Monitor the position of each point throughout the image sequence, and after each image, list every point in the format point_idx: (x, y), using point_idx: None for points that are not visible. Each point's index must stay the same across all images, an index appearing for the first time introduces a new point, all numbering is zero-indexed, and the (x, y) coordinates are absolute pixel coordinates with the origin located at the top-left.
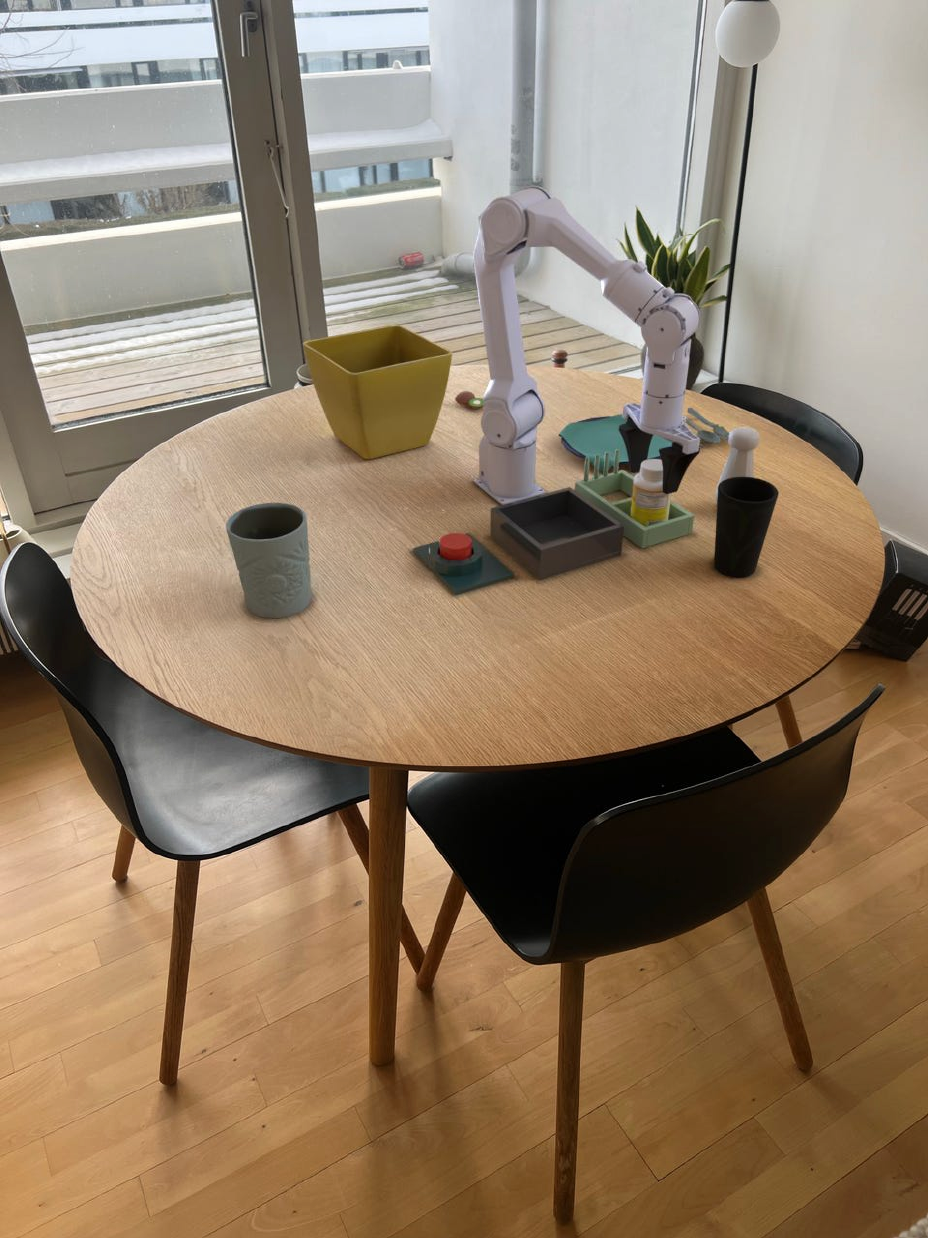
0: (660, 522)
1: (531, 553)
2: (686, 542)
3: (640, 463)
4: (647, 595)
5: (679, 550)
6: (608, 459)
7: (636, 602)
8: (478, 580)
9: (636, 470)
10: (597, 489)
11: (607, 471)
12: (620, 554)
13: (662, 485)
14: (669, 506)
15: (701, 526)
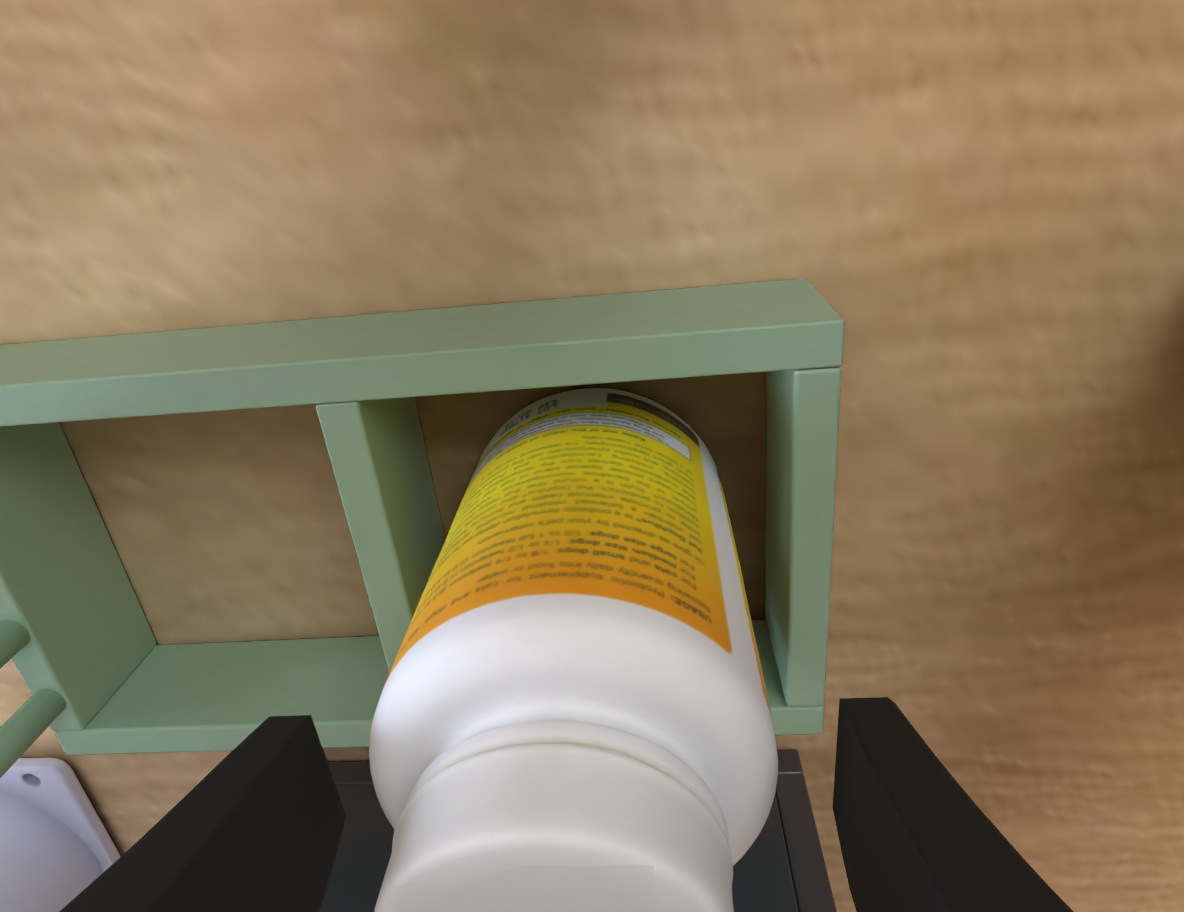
0: (792, 604)
1: None
2: (882, 382)
3: (288, 844)
4: (1163, 816)
5: (935, 477)
6: None
7: (1168, 870)
8: None
9: (330, 811)
10: (85, 575)
11: None
12: (798, 759)
13: (855, 905)
14: (708, 517)
15: (754, 137)
